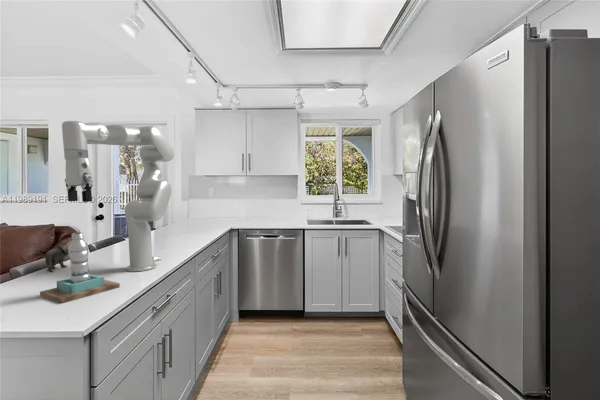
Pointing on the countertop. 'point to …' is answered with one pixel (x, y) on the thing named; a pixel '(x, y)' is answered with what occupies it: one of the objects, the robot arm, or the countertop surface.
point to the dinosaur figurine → (56, 257)
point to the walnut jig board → (78, 289)
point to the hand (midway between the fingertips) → (80, 201)
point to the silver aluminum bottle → (78, 259)
